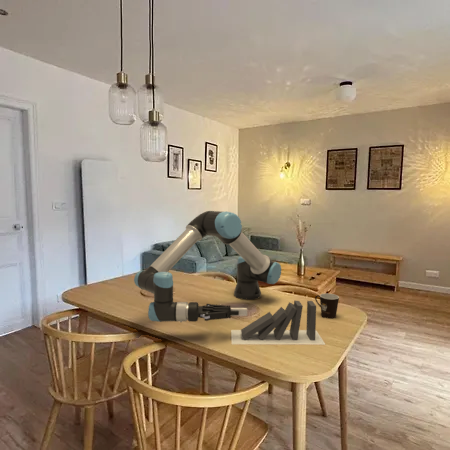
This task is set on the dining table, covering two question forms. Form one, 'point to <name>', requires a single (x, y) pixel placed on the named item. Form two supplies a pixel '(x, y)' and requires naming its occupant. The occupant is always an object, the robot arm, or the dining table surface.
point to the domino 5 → (311, 320)
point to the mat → (271, 339)
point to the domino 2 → (278, 318)
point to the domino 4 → (296, 321)
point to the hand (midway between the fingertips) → (246, 311)
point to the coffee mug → (328, 305)
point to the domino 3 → (285, 321)
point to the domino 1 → (257, 325)
